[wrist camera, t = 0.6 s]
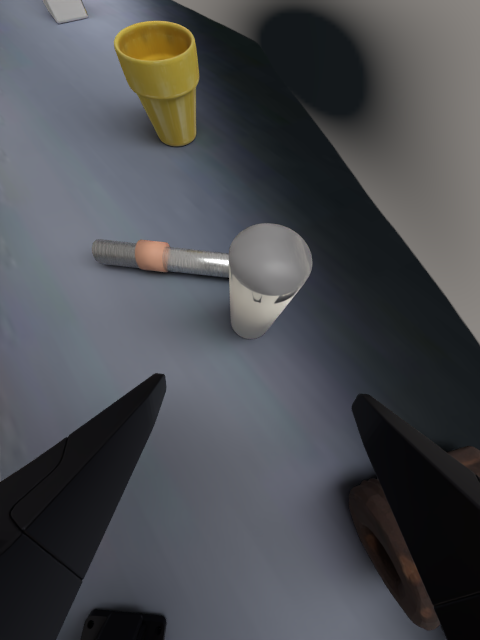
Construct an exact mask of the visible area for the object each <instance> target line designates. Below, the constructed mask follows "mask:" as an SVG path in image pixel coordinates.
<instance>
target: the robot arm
mask: <svg viewBox="0 0 480 640" xmlns="http://www.w3.org/2000/svg"><path fill="white" fill-rule="evenodd" d="M165 392H166V379H165V375H164V374H159V373H155V374H153V375H152V376H151V377H149V378H148V379H146V380H145V381H144V382H142V383H141V384H139V385H138V386H137V387H135V388H134V389H133V390H131V391H130V392H128V393H127V394H126V395H124V396H123V397H121V398H120V399H119V400H117V401H116V402H114V403H113V404H112V405H110V406H109V407H108V408H106V409H105V410H103V411H102V412H101V413H99V414H98V415H96V416H95V417H94V418H92V419H91V420H89V421H88V422H87V423H85V424H84V425H83V426H81V427H80V428H78V429H77V430H76V431H74V432H73V433H71V434H70V435H69V436H68V437H66V438H64V439H63V440H62V441H60V442H59V443H57V444H56V445H55V446H53V447H52V448H50V449H49V450H47V451H46V452H45V453H43V454H42V455H40V456H39V457H37V458H36V459H35V460H33V461H32V462H30V463H29V464H27V465H26V466H24V467H23V468H21V469H20V470H18V471H17V472H15V473H13V474H12V475H10V476H9V477H7V478H6V479H4V480H3V481H1V482H0V640H56V638H57V636H58V634H59V631H60V629H61V627H62V625H63V623H64V621H65V618H66V616H67V614H68V612H69V610H70V608H71V605H72V603H73V601H74V599H75V597H76V595H77V592H78V590H79V588H80V586H81V584H82V580H83V579H84V577H85V575H86V572H87V570H88V568H89V566H90V564H91V562H92V559H93V557H94V555H95V553H96V551H97V549H98V546H99V544H100V542H101V540H102V538H103V536H104V533H105V531H106V529H107V527H108V525H109V523H110V520H111V518H112V516H113V514H114V512H115V510H116V507H117V505H118V503H119V501H120V499H121V497H122V494H123V492H124V490H125V488H126V486H127V484H128V481H129V479H130V477H131V475H132V473H133V470H134V468H135V466H136V464H137V462H138V460H139V457H140V455H141V453H142V451H143V449H144V447H145V444H146V442H147V440H148V438H149V436H150V434H151V431H152V429H153V427H154V424H155V421H156V419H157V416H158V413H159V410H160V407H161V404H162V401H163V398H164V395H165ZM352 412H353V415H354V418H355V421H356V424H357V427H358V430H359V433H360V436H361V439H362V442H363V445H364V447H365V450H366V452H367V455H368V457H369V459H370V462H371V464H372V466H373V469H374V471H375V473H376V475H377V478H378V480H379V482H380V485H381V487H382V489H383V492H384V494H385V496H386V499H387V501H388V503H389V506H390V508H391V510H392V513H393V515H394V517H395V519H396V522H397V524H398V526H399V529H400V531H401V533H402V536H403V538H404V540H405V543H406V545H407V547H408V550H409V552H410V554H411V557H412V559H413V561H414V564H415V566H416V568H417V570H418V573H419V575H420V577H421V580H422V582H423V584H424V587H425V589H426V591H427V594H428V596H429V598H430V601H431V603H432V605H433V608H434V610H435V613H436V615H437V617H438V620H439V622H440V624H441V627H442V629H443V631H444V633H445V636H446V638H447V640H480V477H479V476H478V475H475V474H474V472H472V471H471V470H470V469H468V468H467V467H466V466H464V465H463V464H462V463H460V462H459V461H458V460H456V459H455V458H454V457H452V456H451V455H450V454H448V453H447V452H446V451H444V450H443V449H442V448H440V447H439V446H437V445H436V444H435V443H433V442H432V441H431V440H429V439H428V438H427V437H425V436H424V435H423V434H421V433H420V432H419V431H417V430H416V429H415V428H413V427H412V426H411V425H409V424H408V423H407V422H405V421H404V420H402V419H401V418H400V417H398V416H397V415H396V414H394V413H393V412H392V411H390V410H389V409H388V408H386V407H385V406H384V405H382V404H381V403H380V402H378V401H377V400H376V399H374V398H373V397H372V396H370V395H368V394H358V395H357V397H356V399H355V401H354V402H353V404H352ZM91 620H93V621H94V622H92V621H91ZM158 626H160V627H161V629H159V628H158ZM165 631H166V619H165V617H164V616H159V615H149V614H138V613H127V612H117V611H106V610H93V611H92V612H91V613H90V614H89V616H88V617H87V619H86V621H85V624H84V628H83V632H82V636H81V640H164V637H165Z"/></svg>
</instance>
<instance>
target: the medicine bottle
mask: <svg viewBox="0 0 480 640" xmlns="http://www.w3.org/2000/svg"><path fill="white" fill-rule="evenodd" d="M43 2H44V4H45V6H46V8H47V10H48V11H49V12H50V14H51V15H52V16H53V18H54V19H55V20H56V22H57V23H58V24H61V23H66V22H71V21H75V20H80V19H85V18H88V15H87V12H86V10H85V7H84V5H83V3H82V0H43Z"/></svg>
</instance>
